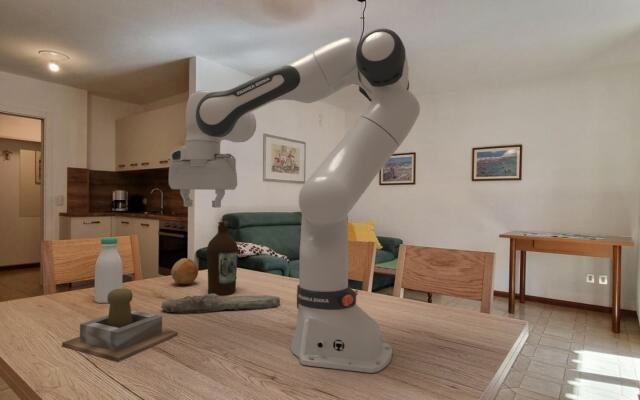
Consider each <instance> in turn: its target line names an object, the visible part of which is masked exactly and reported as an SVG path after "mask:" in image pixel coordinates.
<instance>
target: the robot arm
mask: <svg viewBox="0 0 640 400" xmlns="http://www.w3.org/2000/svg"><path fill="white" fill-rule="evenodd" d="M405 47H406V46H405V44H404V43H403V40H402V39H401V37H400V36H399V35H398V33H396V32H395V31H394V30H391V29H388V28H377V29H373V30H371V31H369V32H367V33H366V34H365V35H364V36H363V37H361V39H360V40H358V39H356V38H354V37H352V36H346V37H343V38H339V39H336V40H333V41H331V42H329V43H327V44H325V45H322V46H320V47H319V48H318V47H317V48H316V49H315V50H313V51H311V52H310V53H307V54H305V55H304V56H303V57H301V58H298V59H296V60H295V61H293V62H290V63H288V64H284V65H282V66H280V67H277V68H274V69H271V70H269V71H267V72H265V73H263V74H260V75H259V76H256V77H254V78H252V79H250V80H248V81H246V82H244V83H241V84H240V85H239V84H238V86H235V87H233V88H230V89H227V90H220V91H212V90H199V91H195V92H193V93H192V94H190V95H189V97H188V99H187V102H186V109H185V129H186V137H185V141H184V145H183V146H182V147H181V148H178V149H177V150H174V151H172V152H171V153H170V154H169V161H171V163H170V165H169V167H168V168H169V169H168V186H169V187H170V189H171V190H179V192H180V196H181V197H182V200H183V207H189V208H191V207H193V203H194V201H193V199H191V198H190V195H189V194H190V193H191V190H215V195H216V196H215V198H214V200H212V201H211V208H216V209H217V208H219V209H220V208H221V206H222V200H223V198H224V196H225V195H226V190H228V191H232V190H233V191H235V190H236V188H237V186H238V174H237V169H236V168H237V167H236V166H237V165H236V164H237V163H236V162H237V161H236V158H235V156H233V155H232V154H231V153H221V142H222V141H224V140H225V141H229V142H233V143H245V142H247V141H249V140H250V139H251V138H252V137H253V136H254V134H255V132H256V129H257V120H256V118H255V117H256V116H255V115H254V113H253V112H254V111H256V110H258V109H260V108H263V107H264V106H266V105H268V104H271V103H273V102H276V101H282V100H283V101H284V100H285V101H288V100H289V101H295V102H299V103H306V104H312V103H315V102H316V103H317V102H318V101H322V100H323V99H326V98H328V97H330V96H331V95H333V94H335V93H337V92H339V91H340V90H342V89H344V88H346V87H348V86H358V91H359V92H360V93H361V94H362V95H363V96H364V98H366V99H367V100H368V101H369V102H370V103H369V105H368V107H367V108H366V109H364V112H363V113H362V114H361V115H360V116H359V118H358V119H357V120H356V121H355V123H354V124H353V125H352V126H351V128H350V129H349V130H348V131H347V132H346V133H345V135H344V137H343V138H342V139H341V140H340V142H339V143H338V144H337V145H336V146H335V147H334V148H333V150H332V151H331V152H330V153H329V154H328V155H327V157H326V158H324V160H323V161H322V162H321V163H320V164H319V166H318V167H316V169H315V171H313V173H312V174H311V175H310V176H309V178H308V179H307V180H306V182H305V183H304V184H303V185H302V187H301V189H300V191H299V196H298V207H299V209H300V212H301V226H300V228H301V229H300V243H299V244H300V245H299V267H298V268H299V269H298V271H299V276H298V277H299V278H298V279H299V280H298V281H299V283H298V285H297V286H296V287H297V290H296V308H297V315H296V316H297V317H296V324H295V328H294V330H295V331H294V334H293V338H292V342H291V345H290V350H291V352H292V354H294V355H295V356H296V357H297V358H298V360H299V363H300V364H301V365H304V366H309V367H317V368H327V369H335V370H344V371H351V372H352V371H353V372H360V373H369V374H371V373H372V374H373V373H378V372H380V371H381V370H384V369H385V368H386V367H387V366H388V365H389V364H390V362H391V360H392V358H393V349H392V347H391V345H390V344H389V343H388V342H384V341H383V338H382V332H381V328H380V325H379V324H378V322H377V321H376V320H375V319H374V318H373V317H371V316H370V315H369V314H368V313H367V312H366V311H364V309H362V308H361V307H360V306H359V305H358V304H357V296H358V295H359V293H358V291H359V290H358V289H355V290H354V289H352V288H351V287H350V285H349V215H348V214H349V213H350V211H352V209H353V208H354V206H355V205H356V204H357V202H358V201H359V200H360V199H361V197H362V195H363V194H364V193H365V192H366V190H367V189H368V187H369V186H370V184H371V183H372V182H373V181H374V179H375V178H376V177H377V176H378V174H379V172H380V171H381V170H382V169H383V167H384V166H385V165H386V164H387V162H388V161H389V160H390V159H391V157H392V156H394V154H395V153H396V151H397V150H398V149H399V147H400V146H401V145H402V144H403V142H404V141H405V139H407V136H409V133H410V132H411V130H412V129H413V127H414V124H416V121H417V120H418V118H419V115H420V110H421V105H420V103H419V100H418V99H417V97H416V96H415V95H414V94H413V93H412V92H411V91H409V90H410V81H409V71H410V69H409V63H408V58H407V55H406V54H407V53H406V48H405Z"/></svg>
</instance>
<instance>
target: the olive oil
mask: <svg viewBox="0 0 640 400" xmlns="http://www.w3.org/2000/svg"><path fill="white" fill-rule="evenodd" d="M228 231H229V225H228V221H218V225H217V233H216V234H214V236H213V237H212V238H211V240H210V241H209V242H208V244H207V247H206V258H207V262H206V263H207V293H208V295H209V294H216V295H218V296H229V295H233V294H235V293H236V291H237V290H236V289H237V286H236V285H237V268H238V256H239V254H238V253H239V248H238V243H237V242H236V240H235V238H234V237H232V236H231V234H230V233H229V232H228Z"/></svg>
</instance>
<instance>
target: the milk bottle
mask: <svg viewBox="0 0 640 400" xmlns="http://www.w3.org/2000/svg"><path fill="white" fill-rule="evenodd" d="M117 245H118V238H117V237H103V238H101V239H100V246H101V250H100V253H99V255H98V257H97V259H96V262H95V265H94V266H95V267H94V302H95V303H98V304H107V303H108V298H107V297H108V294H109V292H110V291H112V290H115V289H122V288H123V260H122V257H121V256H120V253H119V252H118V249H117V247H118V246H117ZM108 304H109V303H108Z"/></svg>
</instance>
